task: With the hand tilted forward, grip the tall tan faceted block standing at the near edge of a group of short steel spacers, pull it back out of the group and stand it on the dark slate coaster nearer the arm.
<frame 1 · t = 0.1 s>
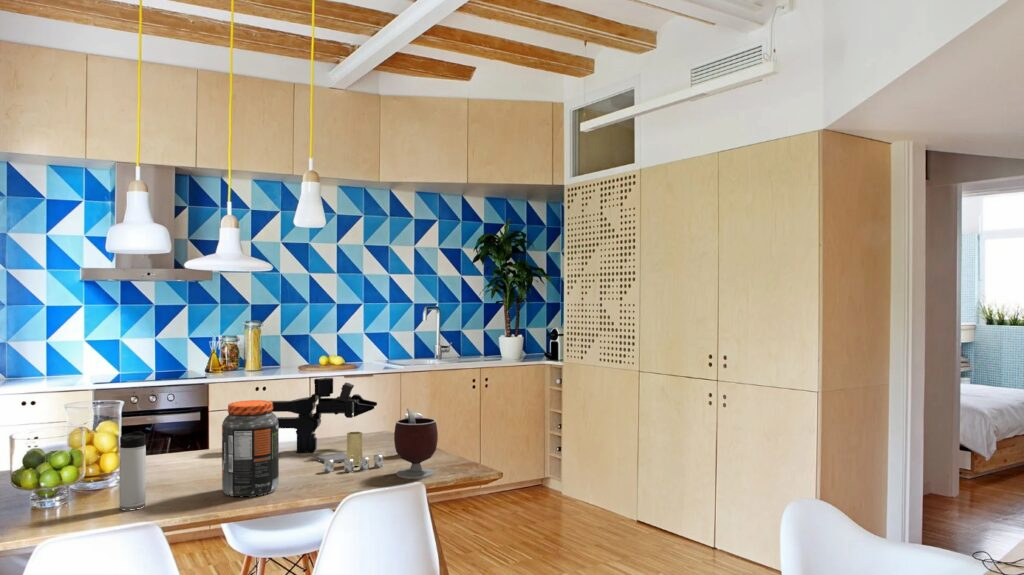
hand: (375, 405, 275), 17 cm above the table, tool horizontal, fingers open, 9 cm apart
spacer 1: (364, 469, 244), on the table
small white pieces: (414, 454, 268), on the table
mate gourd: (415, 474, 238), on the table
spacer 3: (348, 471, 241), on the table
supplement tub: (250, 491, 217), on the table
spacer 4: (328, 472, 240), on the table
coaster: (335, 460, 258), on the table
travel mug: (132, 508, 200), on the table
spacer 2: (378, 467, 247), on the table
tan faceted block: (354, 465, 250), on the table
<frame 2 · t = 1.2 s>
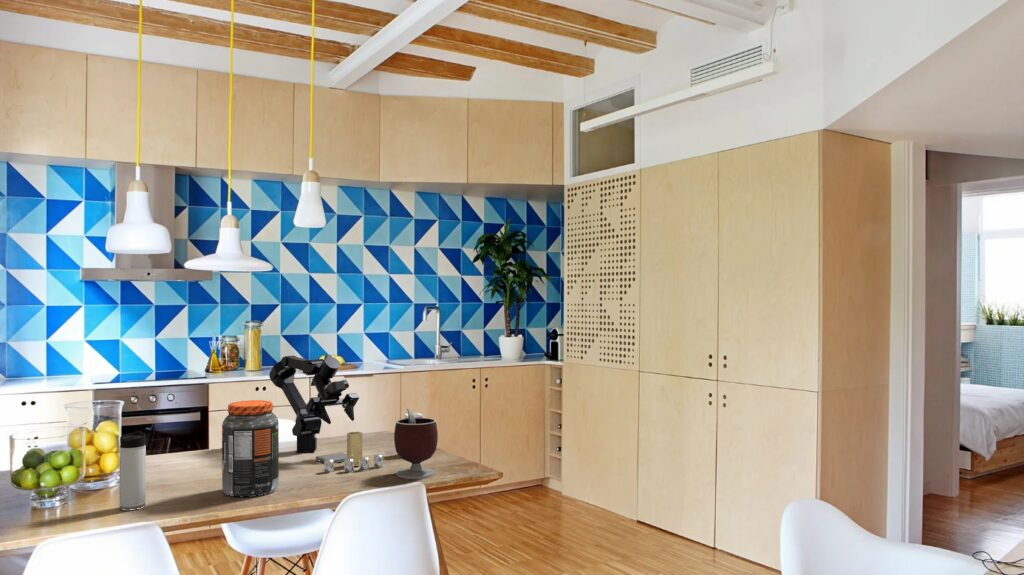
hand: (341, 421, 256), 14 cm above the table, tool tilted 45°, fingers open, 9 cm apart
nothing on the table moved.
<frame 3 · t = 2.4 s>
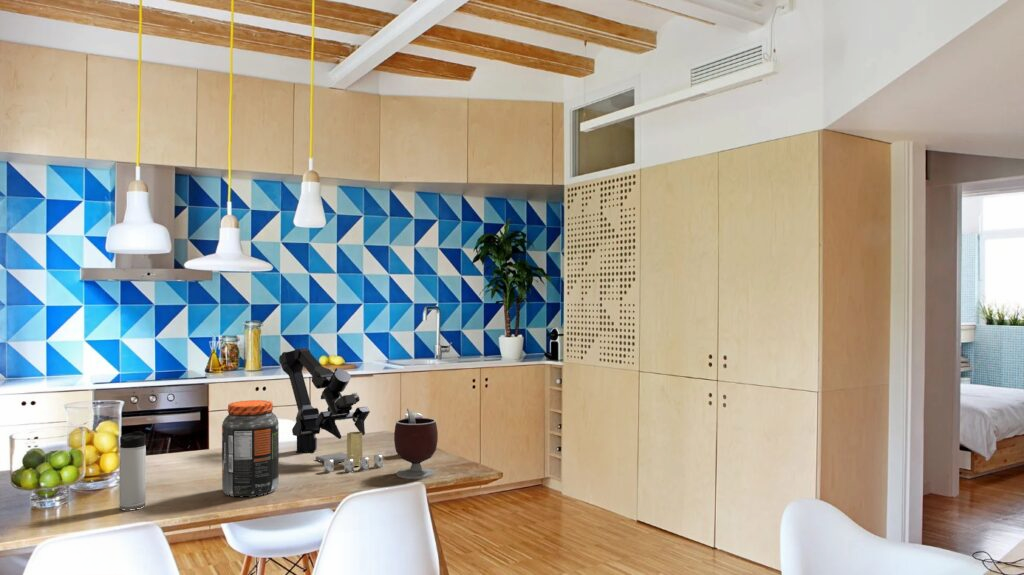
hand: (352, 436, 251), 10 cm above the table, tool tilted 45°, fingers open, 9 cm apart
nothing on the table moved.
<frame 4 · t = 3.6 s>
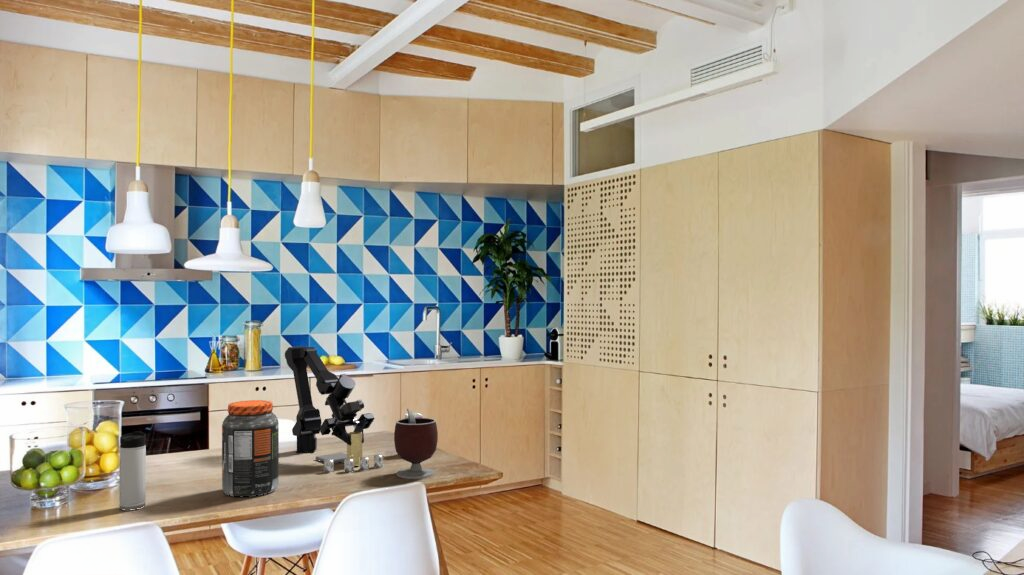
hand: (356, 443, 249), 8 cm above the table, tool tilted 45°, fingers closed on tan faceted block, 4 cm apart
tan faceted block: (354, 465, 250), on the table, touching gripper
everything else where it was.
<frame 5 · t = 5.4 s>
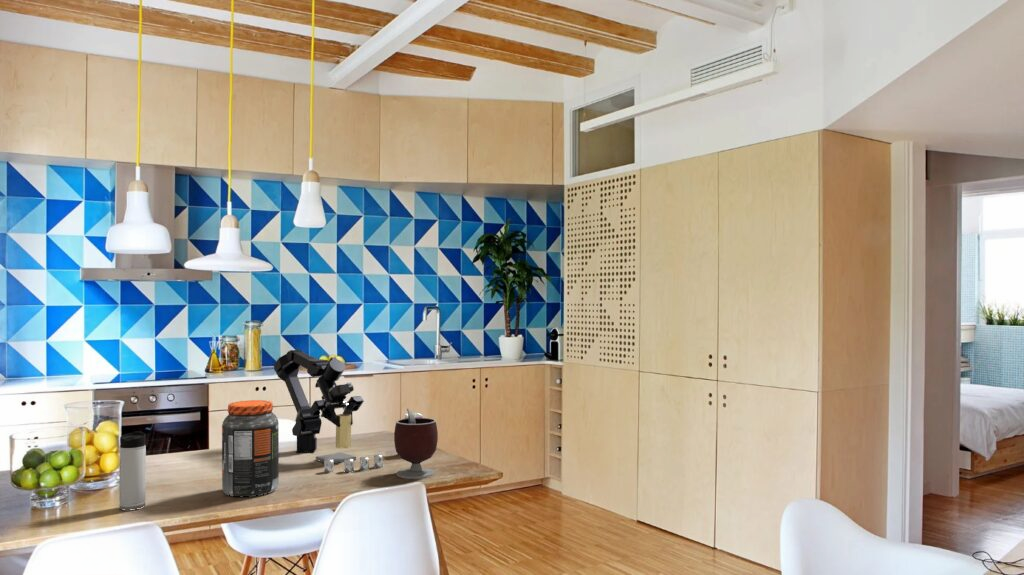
hand: (345, 425, 254), 13 cm above the table, tool tilted 45°, fingers closed on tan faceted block, 4 cm apart
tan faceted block: (343, 446, 255), point 5 cm above the table, touching gripper
everything else where it was.
when the fingers open (9 cm above the table, at t = 7.1 s): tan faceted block stays where it is, resting on coaster.
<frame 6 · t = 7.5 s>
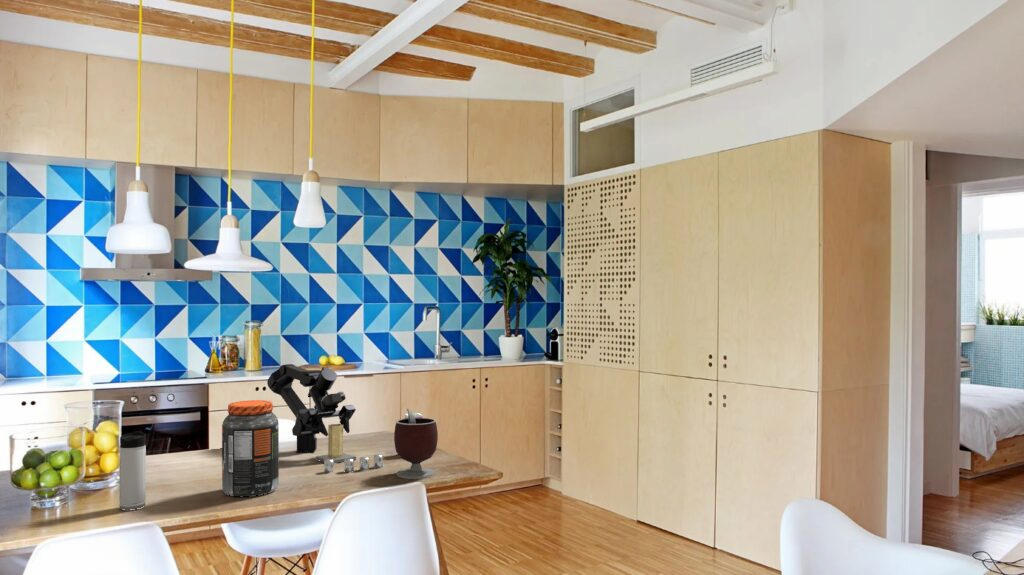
hand: (338, 434, 257), 9 cm above the table, tool tilted 45°, fingers open, 8 cm apart
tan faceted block: (335, 456, 258), point 1 cm above the table, touching coaster
everything else where it was.
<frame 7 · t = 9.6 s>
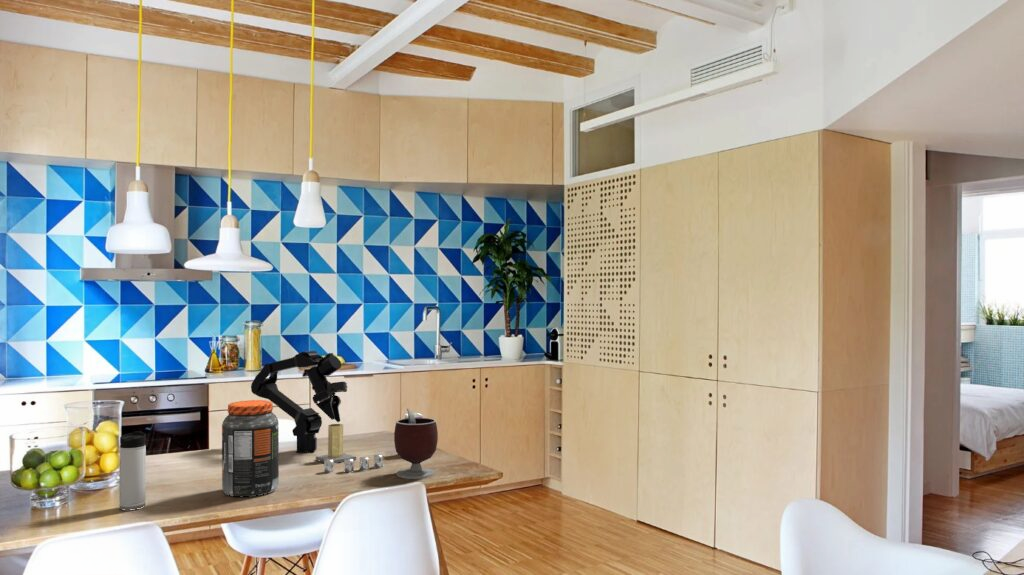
hand: (336, 420, 267), 12 cm above the table, tool tilted 30°, fingers open, 9 cm apart
nothing on the table moved.
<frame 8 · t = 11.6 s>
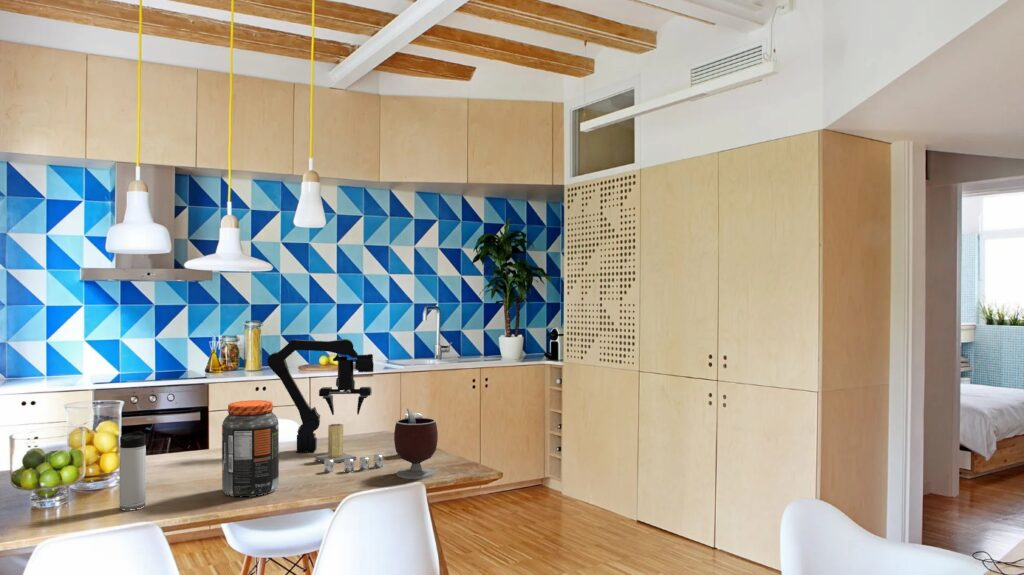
hand: (345, 414, 276), 13 cm above the table, tool pointing down, fingers open, 9 cm apart
nothing on the table moved.
at the end: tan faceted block inside the target area on the coaster (0.1 cm from its centre), point 1.2 cm above the coaster's base; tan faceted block tilted 0°; the gripper is holding nothing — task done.
